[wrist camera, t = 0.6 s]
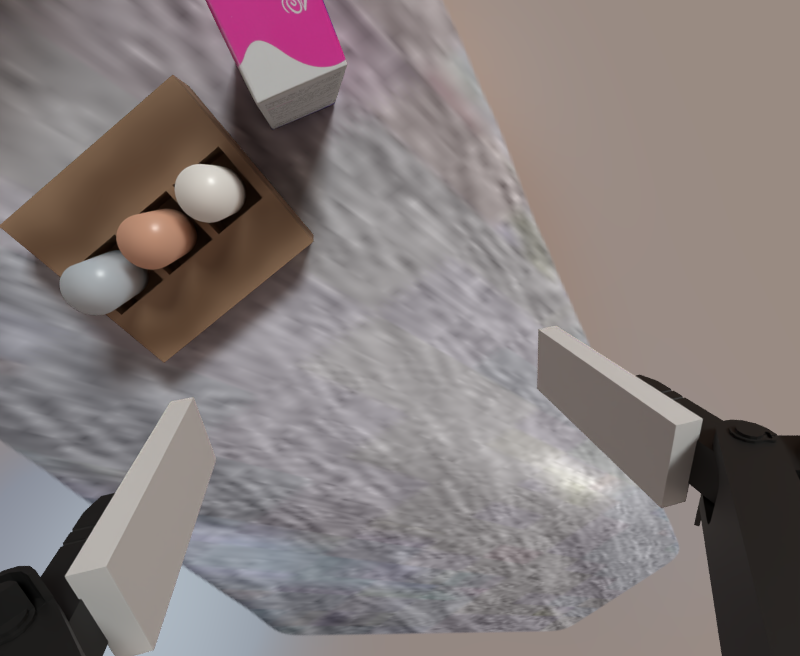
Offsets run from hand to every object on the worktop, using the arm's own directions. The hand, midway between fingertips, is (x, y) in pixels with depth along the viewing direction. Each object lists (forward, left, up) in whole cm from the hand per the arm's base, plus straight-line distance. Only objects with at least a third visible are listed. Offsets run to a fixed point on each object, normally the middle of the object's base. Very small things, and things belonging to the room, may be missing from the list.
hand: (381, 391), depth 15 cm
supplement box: (-14, +6, -24) cm, 29 cm away
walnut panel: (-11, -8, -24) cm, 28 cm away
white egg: (-11, -3, -20) cm, 23 cm away
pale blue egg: (-11, -13, -20) cm, 26 cm away
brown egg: (-11, -8, -20) cm, 24 cm away
